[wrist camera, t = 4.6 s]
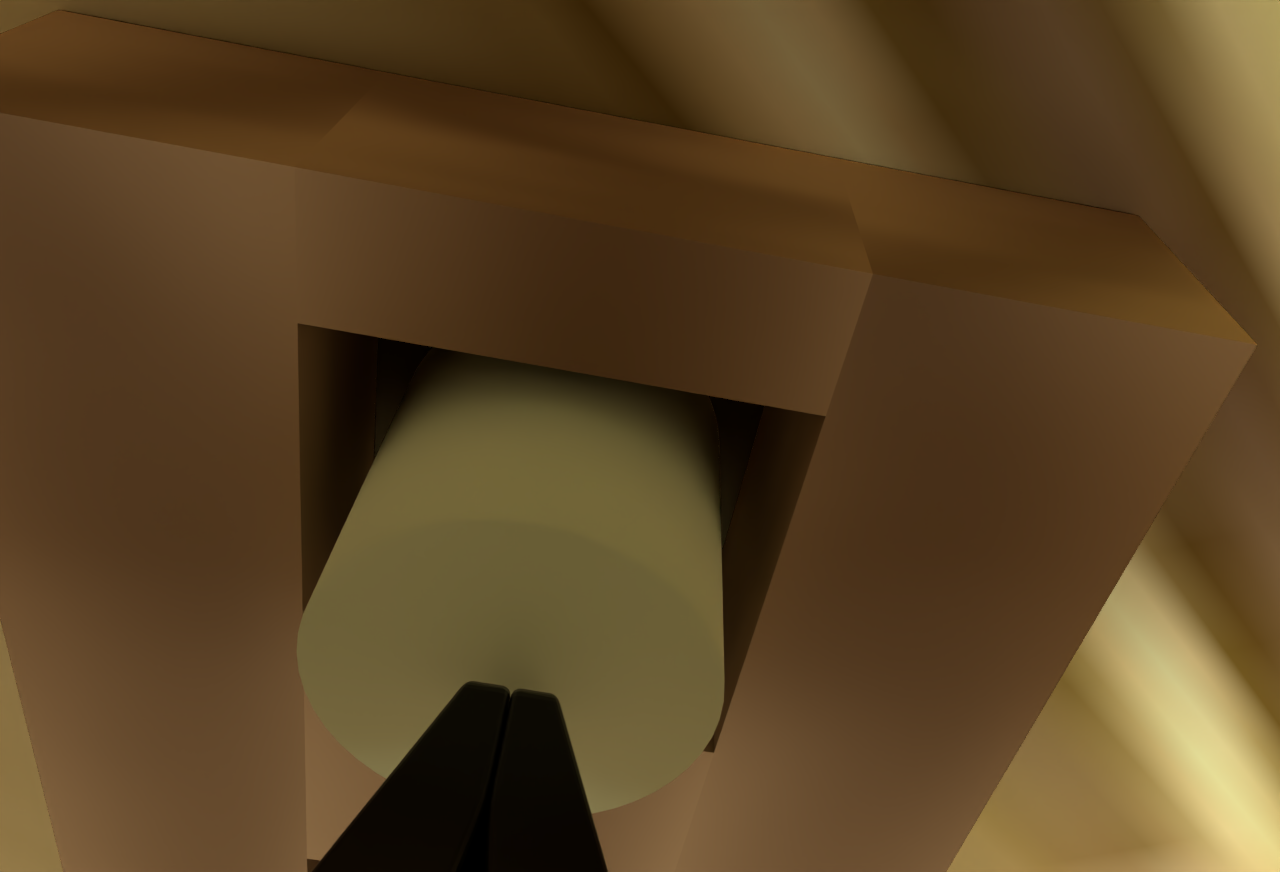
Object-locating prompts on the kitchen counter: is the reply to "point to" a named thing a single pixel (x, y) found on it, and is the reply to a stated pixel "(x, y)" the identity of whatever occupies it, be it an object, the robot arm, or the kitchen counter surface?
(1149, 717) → the kitchen counter surface
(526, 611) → the green button
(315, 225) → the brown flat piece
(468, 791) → the robot arm
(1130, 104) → the kitchen counter surface
